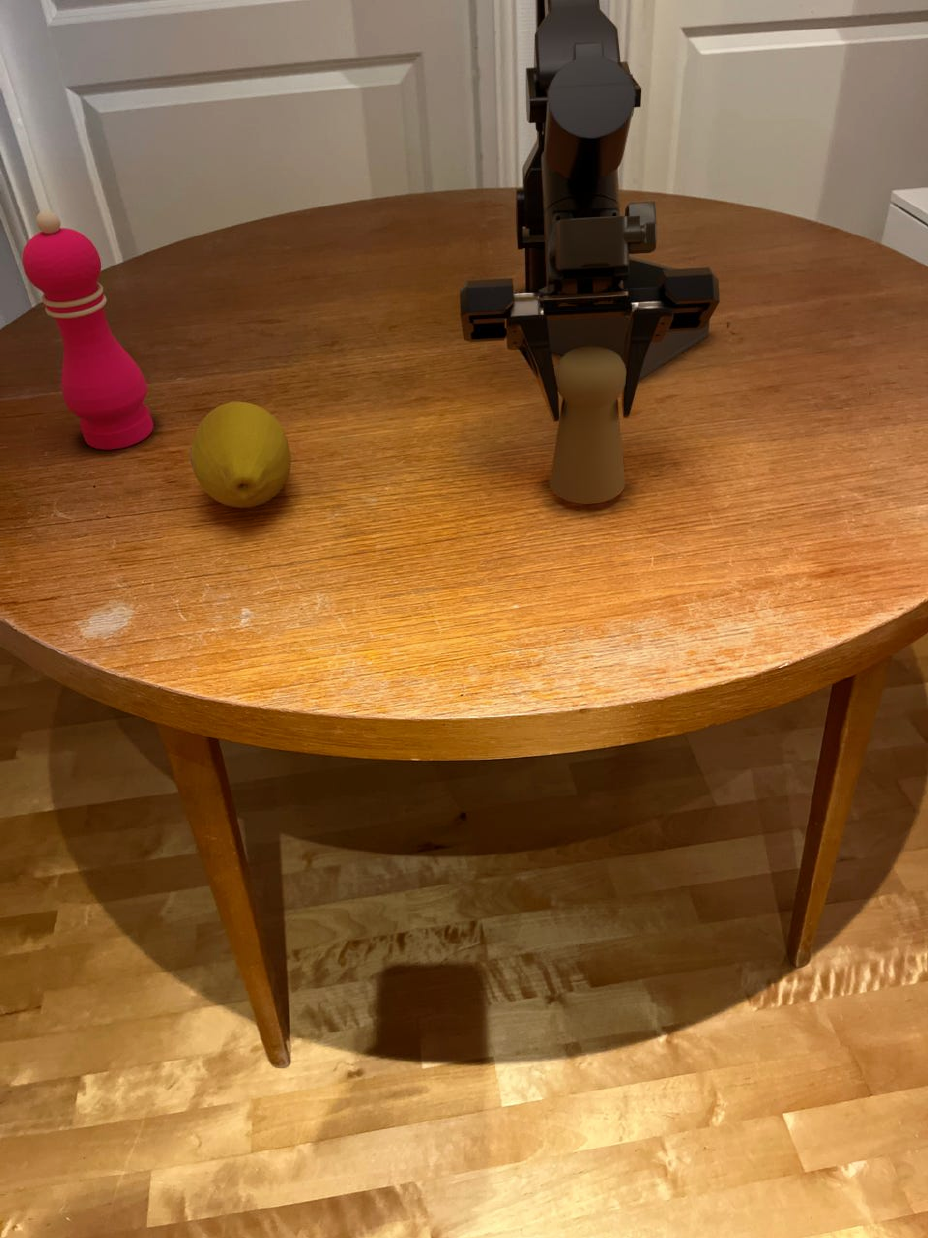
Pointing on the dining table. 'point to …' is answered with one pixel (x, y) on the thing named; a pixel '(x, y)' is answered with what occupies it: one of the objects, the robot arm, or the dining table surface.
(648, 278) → the open box
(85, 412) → the pepper mill
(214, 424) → the lemon
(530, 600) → the dining table surface
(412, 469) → the dining table surface
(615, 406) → the cork
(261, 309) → the dining table surface
